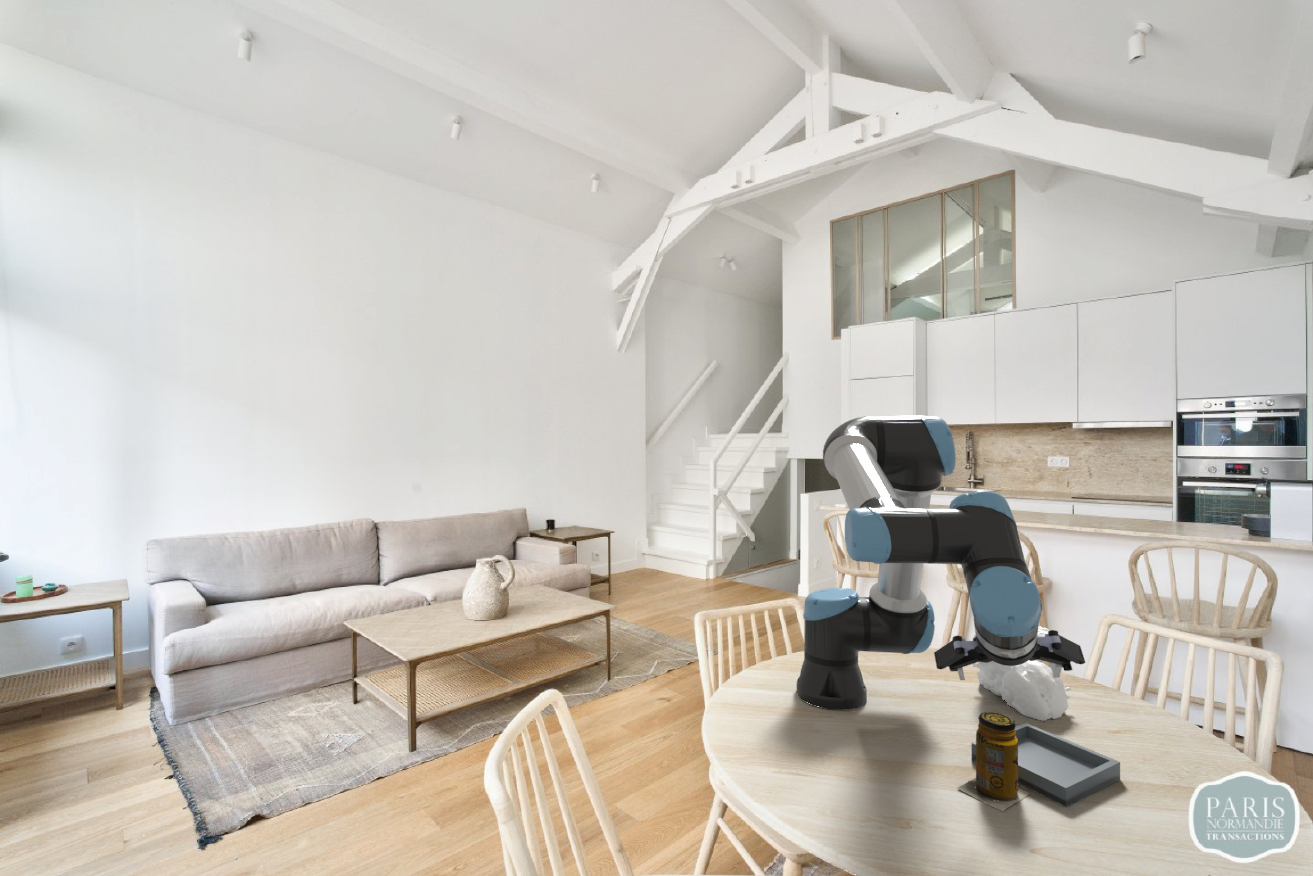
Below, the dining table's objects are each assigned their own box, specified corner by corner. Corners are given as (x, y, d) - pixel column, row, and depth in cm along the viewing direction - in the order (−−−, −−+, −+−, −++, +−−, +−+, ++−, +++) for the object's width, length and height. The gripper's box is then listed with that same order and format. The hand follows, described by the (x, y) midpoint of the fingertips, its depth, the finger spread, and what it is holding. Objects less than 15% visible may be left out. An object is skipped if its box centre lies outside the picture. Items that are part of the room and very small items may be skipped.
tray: (971, 759, 109) (971, 742, 109) (1025, 738, 117) (1025, 722, 117) (1065, 807, 95) (1065, 788, 95) (1120, 779, 103) (1120, 762, 103)
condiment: (1029, 794, 99) (1029, 720, 99) (1002, 812, 94) (1002, 735, 94) (984, 773, 105) (984, 704, 105) (957, 789, 100) (956, 717, 100)
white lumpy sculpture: (1060, 691, 116) (981, 613, 132) (1005, 754, 126) (937, 674, 141) (1117, 679, 125) (1036, 606, 140) (1061, 739, 134) (991, 665, 149)
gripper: (914, 663, 87) (928, 696, 103) (1123, 655, 77) (1104, 692, 93) (905, 611, 91) (921, 650, 107) (1103, 597, 82) (1088, 643, 97)
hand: (1006, 670), depth 100 cm, fingers open, 13 cm apart
